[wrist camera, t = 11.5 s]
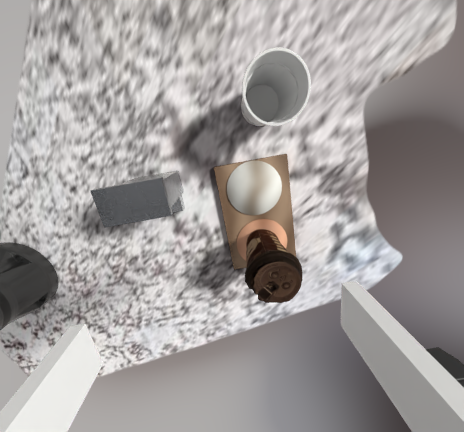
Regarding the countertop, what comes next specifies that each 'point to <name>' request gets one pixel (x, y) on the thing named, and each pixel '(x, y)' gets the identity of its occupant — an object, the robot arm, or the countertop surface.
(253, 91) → the cup
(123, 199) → the miniature fireplace
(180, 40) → the countertop surface
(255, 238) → the coffee cup
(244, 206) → the walnut board
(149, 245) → the countertop surface
